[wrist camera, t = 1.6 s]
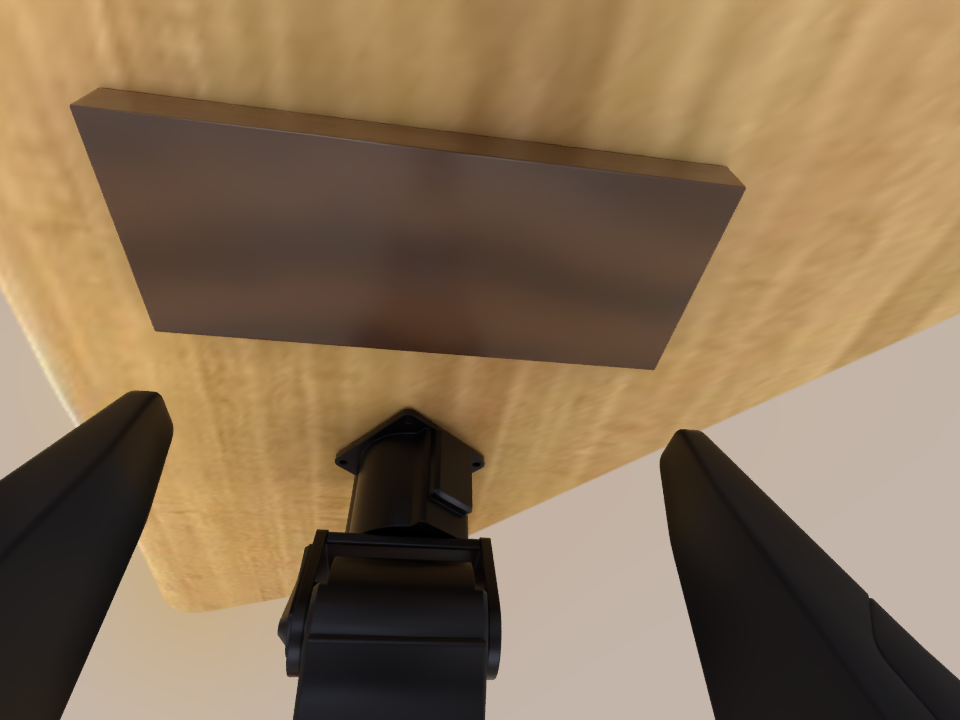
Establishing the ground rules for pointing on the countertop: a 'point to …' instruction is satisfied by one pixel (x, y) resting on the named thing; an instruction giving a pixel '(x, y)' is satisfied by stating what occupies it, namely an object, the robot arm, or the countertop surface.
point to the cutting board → (400, 232)
